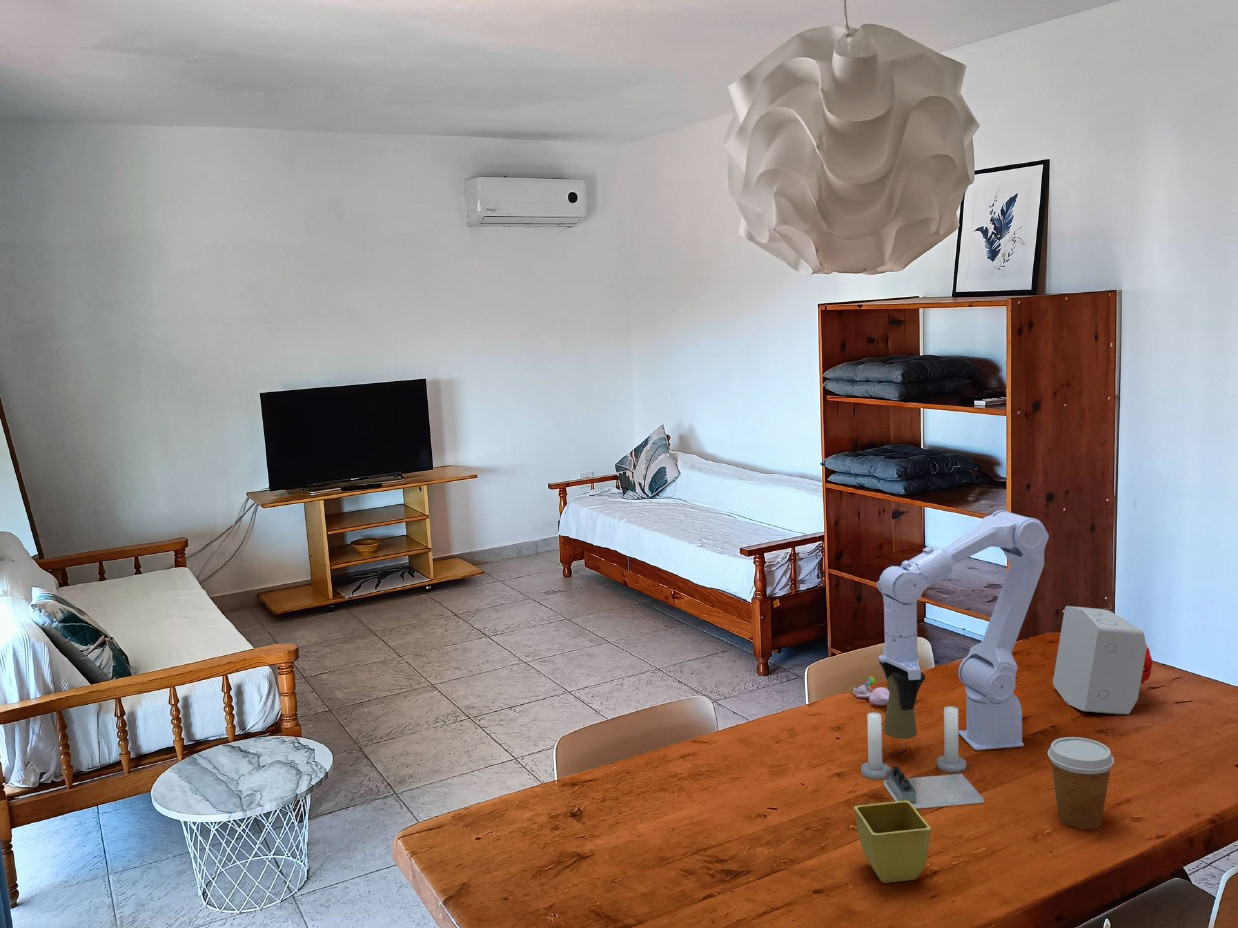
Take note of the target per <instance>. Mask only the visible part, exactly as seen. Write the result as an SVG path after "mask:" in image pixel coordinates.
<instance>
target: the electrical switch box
mask: <svg viewBox="0 0 1238 928" xmlns="http://www.w3.org/2000/svg"><path fill="white" fill-rule="evenodd" d="M1146 643H1147V642H1146V638H1145V632H1144V630H1142V629H1141V628H1139V627H1138V626H1136V625H1134V624H1133V623H1131V622H1129V621H1127V620H1126V619H1124V618H1122V617H1121V616H1120V615H1117V614H1116V613H1114V612H1112V611H1111V610H1108V609H1104V608H1103V609H1102V608H1094V607H1092V608H1091V607H1084V606H1083V607H1080V606H1071V605H1066V606H1065V607H1064V612H1063V618H1062V624H1061V630H1060V637H1059V642H1058V648H1057V654H1056V659H1055V660H1056V661H1055V666H1054V672H1053V673H1054V674H1053V679H1052V685H1053V687H1054V689H1056V691H1057V693H1058V694H1059V695H1060V696H1061V698H1062V699H1063V700H1064V702H1065V703H1066V704H1067V705H1068V706H1072V707H1073V708H1076V709H1078V710H1080V711H1082V712H1087V713H1088V712H1089V713H1091V712H1092V713H1103V714H1114V715H1130V714H1131V711H1133V708H1134V707H1135V705H1136V703H1137V701H1138V699H1139V695H1140V690H1141V689H1140V688H1141V684H1144V683H1146V681H1148V680H1149V679H1150V677H1151V675H1152V673H1151V672H1152V668H1153V657H1152V656H1151V651H1150V648H1149V647H1148V646H1147V644H1146Z"/></svg>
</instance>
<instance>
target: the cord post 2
mask: <svg viewBox="0 0 1238 928" xmlns="http://www.w3.org/2000/svg"><path fill="white" fill-rule="evenodd" d="M943 731H944V732H943V742H944V743H943V744H944V745H943V746H944V748H943V749H944V755H941V756H939V757H937V759H936V766H937V768H938V769H939V770H941V771H942V772H946V773H949V772H950V774H961V773H964V772H965V771H966V770H967V760H966V759H964V758H963V757H960V756H959V709H958V707H956V706H950V705H949V706H944V708H943Z"/></svg>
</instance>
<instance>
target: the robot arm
mask: <svg viewBox="0 0 1238 928" xmlns="http://www.w3.org/2000/svg"><path fill="white" fill-rule="evenodd" d="M1049 538H1050V535H1049V533H1048V531H1047V529H1046V528H1045V526H1044V524H1043V523H1042V521H1040V520H1039V519H1037V518H1035V517H1034V518H1033V517H1027V516H1024V515H1020V514H1016V513H1013V512H1010V511H1009V510H1005V509H999V510H996V511H995V512H993V513H992V514H991V515H990V514H989V515H988V516H984V517H983V519H982V521H981V522H980V523H979V524H978V525H977V526H975V527H974V528H972V529H970V530H969V531H967V532H966V533H964V534H963V535H961V536H960V537H958V538H957V539H955V540H954V541H952V542H951V543H949V544H948V545H946V546H944V548H941V547H939V546H932V547H930V546H926V547H925V548H923V549H922V553H920V554H918V555H916V556H913V557H912V558H911V559H908V560H906V559H905V560H904V561H902V562H901V565H900V566H898V565H897V566H895V565H892V566H889V567H887V568H886V569H884V570H883V571H882V573H881V575H880V576H879V580H878V581H876V586H877V589H878V592H880V593H881V595H882V598H883V601H882V602H883V613H884V614H883V615H884V616H883V620H884V623H883V624H884V625H883V626H884V643H882V644H883V645H882V647H883V648H882V649H883V650H882V651H883V654H880V655H878V663H879V664H880V666H881V668H882V670H883V673H884V675H885V678H886V680H887V679H888V677H889V676H890V675H892V677H893V679H894V681H895V683H896V686H897V690H898V695H899V702H900V706H901V709H902V710H913V709H914V710H915V705H916V701H917V697H918V692H919V690H920V688H921V686H922V684H923V682H924V681H925V680H926V675H925V674H924V672H922V671H921V670H922V669H921V668H920V666H919V664H920V663H919V662H920V660H919V655H918V623H917V621H918V617H917V615H918V614H917V613H918V611H917V608H918V607H917V603H918V601H919V599H920V598H921V597H922V595H923V592H924V591H925V590H927V588H928V587H931V586H932V585H934V584H935V583H938V582H939V581H941V580H943V579H944V578H947V576H949V575H951V574H952V573H953V570H954V565H955V564H957V563H959V562H961V561H964V560H966V559H968V558H970V557H972V556H974V555H976V554H978V553H980V552H982V551H984V550H986V549H988V548H991V547H994V548H999V549H1000V550H1001V551H1002V552H1003V553H1004V555H1005V557H1006V559H1007V561H1008V563H1009V567H1008V570H1007V573H1006V575H1005V579H1004V580H1003V581H1004V582H1003V584H1002V586H1001V589H1000V592H999V594H998V598H997V601H996V603H995V606H994V608H993V612H992V614H991V617H990V619H989V623H988V625H987V626H986V630H985V633H984V636H983V638H982V641H981V642H979V643H977V644H975V645H973V646H971V647H970V649H969V651H968V654H967V655H966V656H965V658H964V659H963V660H962V661H961V663H960V664H959V667H958V679H959V680H960V682H961V683H962V684H963V685H964V691H965V692H966V693H965V694H966V695H965V696H966V699H965V700H966V729H965V730H963V729H962V730H958V735H960V736H961V738H962V739H964V741H965V742H966V743H968V745H970V746H971V747H972V749H973V750H975V751H981V750H982V751H983V750H995V749H1005V748H1007V749H1010V748H1018V747H1021V748H1022V747H1024V746H1025V743H1023V711H1022V706H1021V702H1020V700H1019V699H1018V697H1017V696H1016V694H1014V692H1015V689H1016V675H1017V672H1018V668H1019V667H1018V665H1017V662H1016V660H1015V658H1014V655H1013V653H1012V652H1013V650H1014V648H1015V645H1016V642H1017V640H1018V637H1019V634H1020V631H1021V629H1022V626H1023V623H1024V620H1025V617H1026V615H1027V613H1028V610H1029V608H1030V607H1029V606H1030V605H1031V602H1032V599H1033V595H1034V594H1035V591H1036V588H1037V585H1038V582H1039V580H1040V577H1041V575H1042V571H1043V570H1044V569H1043V568H1044V566H1045V548H1046V546H1047V543H1048V541H1049Z"/></svg>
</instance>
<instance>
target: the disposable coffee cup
mask: <svg viewBox="0 0 1238 928" xmlns="http://www.w3.org/2000/svg"><path fill="white" fill-rule="evenodd" d="M1047 755H1048V758H1049V760H1050V762H1051V771H1052V777H1053V778H1052V779H1053V785H1054V792H1055V793H1054V794H1055V801H1056V807H1057V809H1056V810H1057V815H1058V819H1059V820H1060V822H1062V823H1063V824H1065V825H1067V826H1069V827H1071V828H1076V829H1081V830H1092V829H1096V828H1099V827H1100V826H1101V825H1102V823H1103V817H1104V816H1103V815H1104V811H1105V805H1106V804H1105V803H1106V797H1107V791H1108V785H1109V779H1110V773H1111V769H1112V767H1113V766H1114V764H1115V758H1114V756H1113V755H1112V753H1111V749H1110V748H1109V747H1108V746H1107V745H1105V744H1103V743H1101V742H1100V741H1097V740H1094V739H1090V738H1085V737H1078V736H1077V737H1075V736H1071V737H1070V736H1069V737H1068V736H1067V737H1066V736H1065V737H1060V738H1057V739H1055V740H1053V741H1052V742H1051V744H1050V748H1049V749H1048V750H1047Z"/></svg>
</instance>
